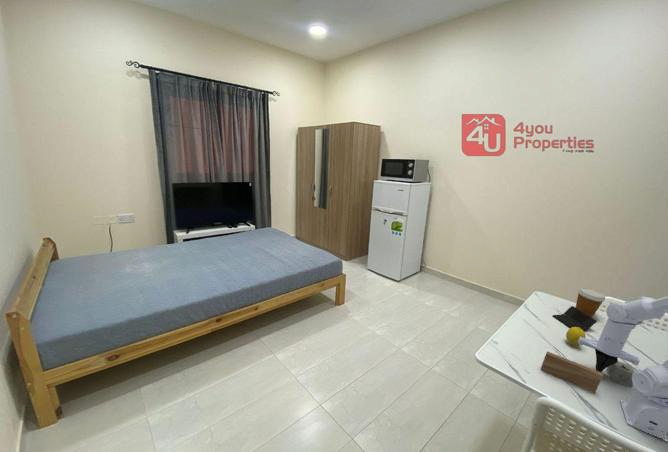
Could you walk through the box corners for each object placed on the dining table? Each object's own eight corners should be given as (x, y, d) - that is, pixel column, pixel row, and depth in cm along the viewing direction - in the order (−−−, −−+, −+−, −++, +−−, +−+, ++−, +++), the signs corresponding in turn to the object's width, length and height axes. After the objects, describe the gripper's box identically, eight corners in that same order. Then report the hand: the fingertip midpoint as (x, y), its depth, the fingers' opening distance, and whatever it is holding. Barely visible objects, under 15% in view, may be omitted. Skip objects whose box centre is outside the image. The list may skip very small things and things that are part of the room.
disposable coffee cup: (587, 322, 123) (596, 299, 120) (565, 309, 132) (573, 287, 128) (602, 319, 126) (611, 297, 122) (579, 307, 135) (588, 286, 131)
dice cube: (610, 380, 92) (616, 368, 91) (606, 370, 97) (611, 358, 95) (630, 387, 90) (637, 375, 89) (625, 376, 94) (631, 365, 93)
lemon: (584, 351, 105) (592, 333, 103) (568, 348, 106) (575, 330, 104) (575, 341, 110) (582, 324, 108) (560, 338, 111) (566, 321, 109)
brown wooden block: (594, 393, 87) (602, 376, 85) (540, 370, 94) (547, 353, 92) (594, 390, 88) (602, 373, 86) (540, 367, 96) (547, 351, 93)
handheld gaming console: (550, 314, 125) (567, 299, 123) (554, 319, 128) (571, 305, 127) (576, 334, 115) (596, 318, 113) (580, 339, 119) (599, 323, 117)
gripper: (641, 341, 89) (624, 373, 94) (583, 321, 97) (570, 352, 102) (647, 353, 84) (629, 387, 88) (585, 332, 92) (572, 364, 96)
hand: (598, 369), depth 94 cm, fingers closed
